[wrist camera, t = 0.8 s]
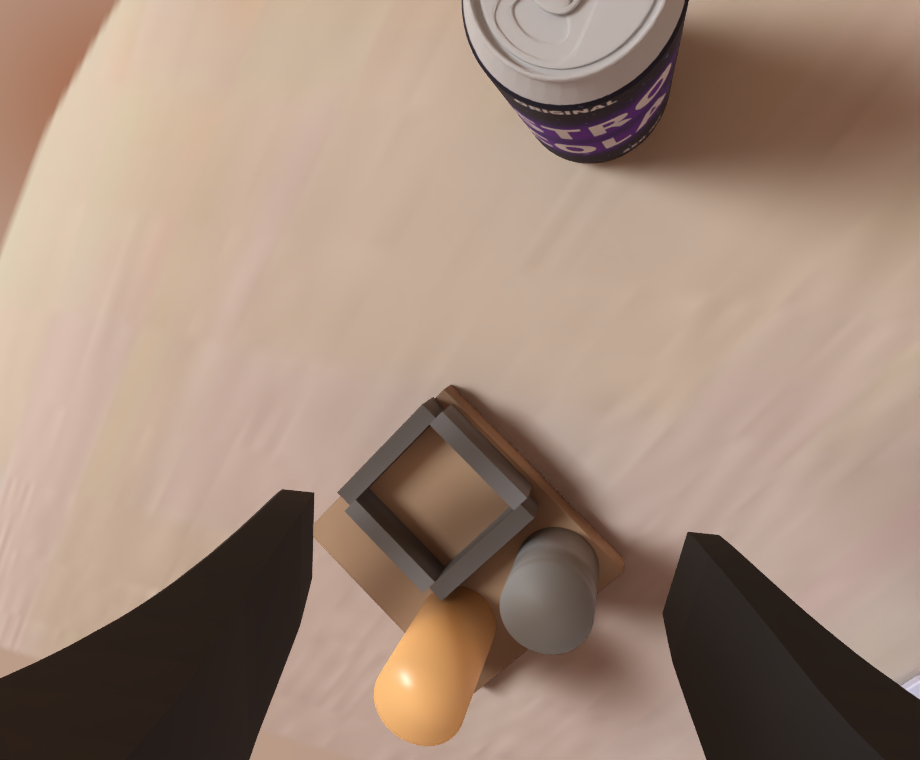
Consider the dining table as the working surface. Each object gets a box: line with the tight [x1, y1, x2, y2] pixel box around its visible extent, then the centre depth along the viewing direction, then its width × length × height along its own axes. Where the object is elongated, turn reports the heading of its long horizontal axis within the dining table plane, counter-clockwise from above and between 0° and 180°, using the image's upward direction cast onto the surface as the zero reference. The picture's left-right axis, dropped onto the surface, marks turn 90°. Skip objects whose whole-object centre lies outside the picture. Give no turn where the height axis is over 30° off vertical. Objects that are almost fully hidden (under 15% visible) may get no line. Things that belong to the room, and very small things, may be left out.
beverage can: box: [462, 0, 689, 163], centre depth 21 cm, size 6×6×12 cm
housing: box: [313, 385, 624, 694], centre depth 29 cm, size 11×10×5 cm
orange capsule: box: [374, 586, 496, 746], centre depth 28 cm, size 4×4×6 cm
